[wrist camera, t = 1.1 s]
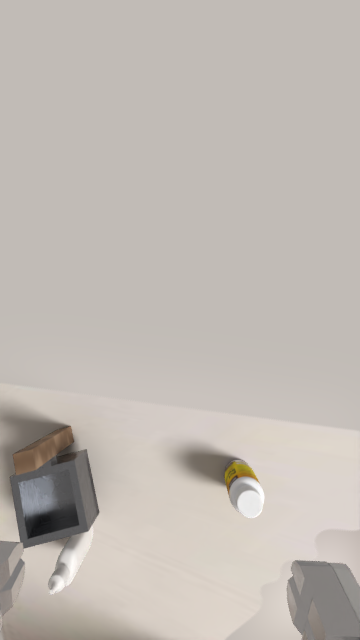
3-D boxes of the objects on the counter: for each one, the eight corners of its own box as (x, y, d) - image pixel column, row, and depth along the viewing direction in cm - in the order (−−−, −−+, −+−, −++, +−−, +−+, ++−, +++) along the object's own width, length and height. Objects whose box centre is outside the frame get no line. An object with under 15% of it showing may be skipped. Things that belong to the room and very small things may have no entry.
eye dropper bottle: (66, 540, 50) (27, 598, 38) (85, 515, 50) (52, 564, 38) (83, 556, 49) (49, 620, 37) (102, 531, 50) (75, 586, 38)
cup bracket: (106, 500, 50) (77, 549, 38) (51, 514, 50) (3, 569, 38) (90, 421, 53) (57, 442, 40) (37, 435, 53) (-13, 461, 40)
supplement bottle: (228, 454, 51) (238, 478, 41) (256, 464, 50) (273, 492, 40) (219, 483, 50) (226, 515, 40) (247, 494, 50) (262, 530, 39)
